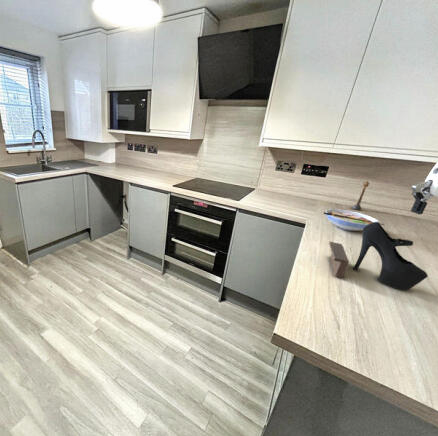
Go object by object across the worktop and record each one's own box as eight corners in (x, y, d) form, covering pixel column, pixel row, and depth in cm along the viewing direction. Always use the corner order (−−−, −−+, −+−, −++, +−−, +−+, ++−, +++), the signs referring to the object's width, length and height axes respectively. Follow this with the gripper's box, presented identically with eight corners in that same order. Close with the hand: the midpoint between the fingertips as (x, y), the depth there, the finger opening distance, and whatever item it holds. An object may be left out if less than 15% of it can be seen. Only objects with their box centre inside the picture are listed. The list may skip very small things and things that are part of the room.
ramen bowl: (371, 227, 133) (377, 214, 130) (380, 242, 115) (387, 226, 112) (318, 217, 145) (322, 204, 142) (319, 228, 127) (324, 214, 124)
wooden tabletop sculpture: (361, 211, 162) (373, 182, 155) (352, 209, 164) (364, 181, 157) (359, 209, 167) (370, 181, 159) (351, 207, 169) (362, 180, 162)
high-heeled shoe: (415, 298, 75) (447, 242, 68) (344, 269, 90) (364, 221, 82) (419, 289, 80) (449, 236, 73) (350, 263, 94) (370, 217, 87)
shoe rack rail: (335, 259, 97) (341, 244, 94) (341, 278, 84) (349, 261, 81) (324, 256, 99) (329, 241, 96) (328, 274, 86) (334, 258, 83)
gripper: (440, 157, 64) (412, 216, 70) (515, 161, 62) (480, 221, 68) (416, 155, 71) (392, 208, 77) (482, 158, 69) (452, 213, 75)
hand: (433, 214), depth 73 cm, fingers open, 9 cm apart
